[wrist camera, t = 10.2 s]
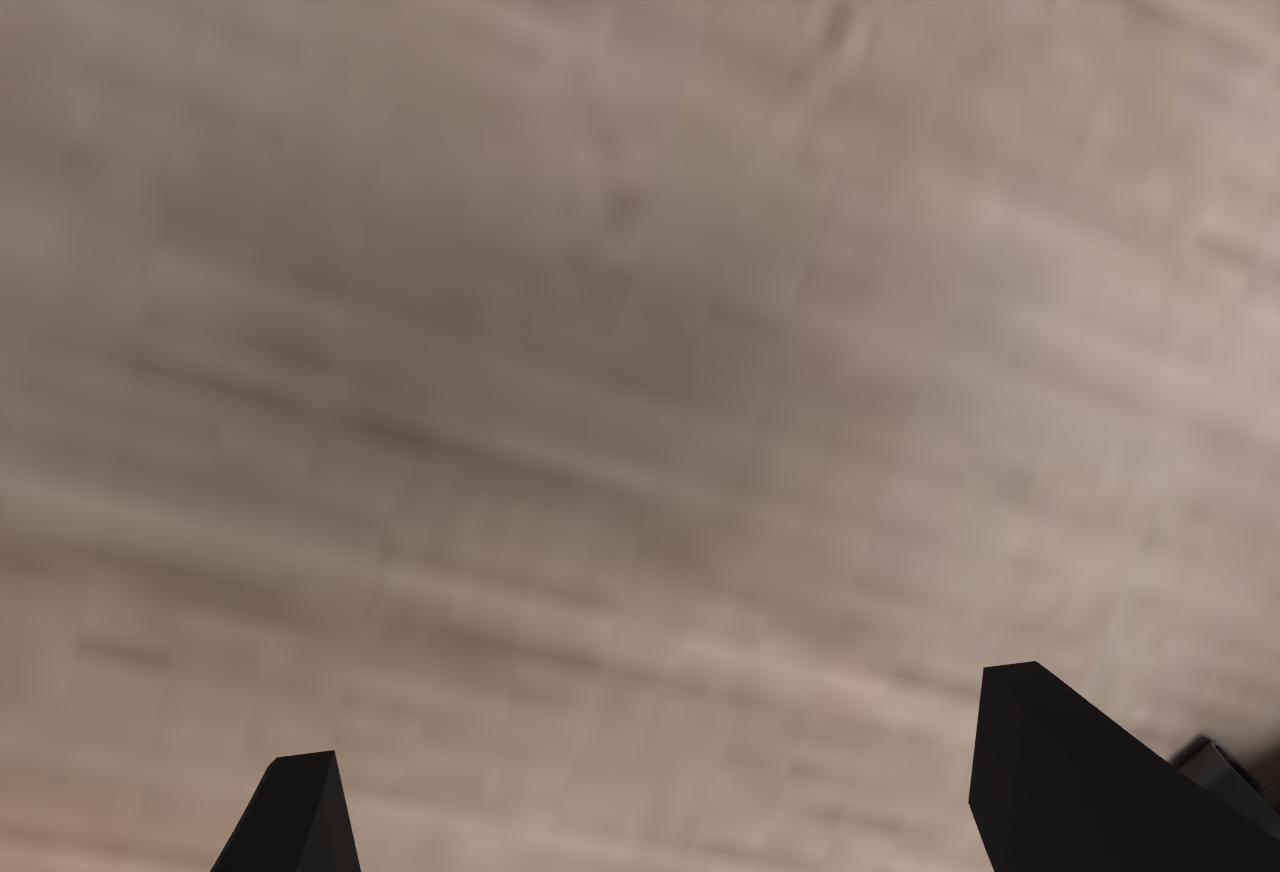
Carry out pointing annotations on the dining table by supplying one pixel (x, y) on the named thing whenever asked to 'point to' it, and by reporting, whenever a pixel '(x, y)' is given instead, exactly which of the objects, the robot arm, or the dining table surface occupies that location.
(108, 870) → the dining table surface
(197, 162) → the dining table surface
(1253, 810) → the coffee press
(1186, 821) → the robot arm
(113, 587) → the dining table surface
